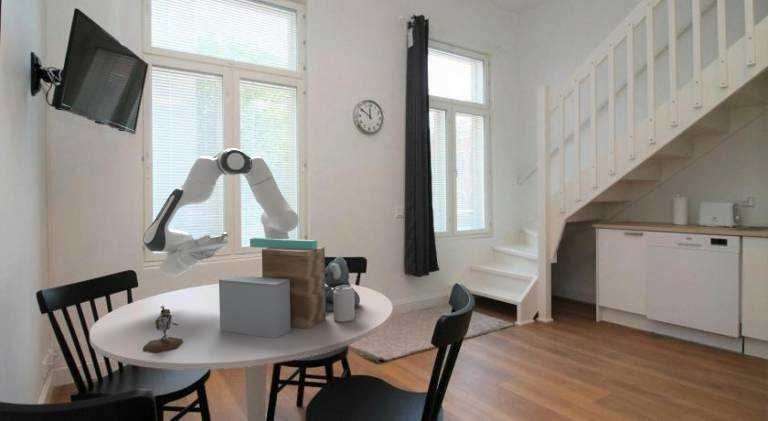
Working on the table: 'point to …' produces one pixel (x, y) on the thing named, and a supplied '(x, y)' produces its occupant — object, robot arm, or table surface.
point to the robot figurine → (164, 342)
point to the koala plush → (336, 281)
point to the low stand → (255, 305)
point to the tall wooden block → (299, 281)
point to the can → (344, 303)
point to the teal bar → (283, 243)
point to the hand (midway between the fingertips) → (217, 235)
